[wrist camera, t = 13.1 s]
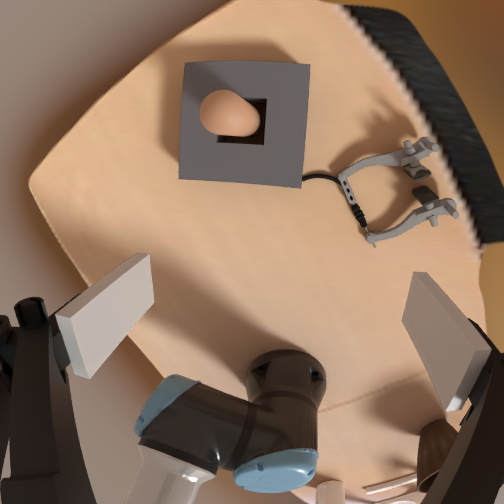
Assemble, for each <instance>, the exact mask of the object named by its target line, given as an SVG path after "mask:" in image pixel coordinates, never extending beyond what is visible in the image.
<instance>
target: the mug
mask: <svg viewBox="0 0 504 504" xmlns="http://www.w3.org/2000/svg"><path fill="white" fill-rule="evenodd" d="M316 504H345V485H344V483H343V482H341V481H336V480H331V481H325V482H322V483H320V484H318V486H317V488H316Z"/></svg>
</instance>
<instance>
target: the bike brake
mask: <svg viewBox="0 0 504 504" xmlns="http://www.w3.org/2000/svg"><path fill="white" fill-rule="evenodd" d="M403 143H404V146H405V149H402V150H398V151H395V152H391V153H387V154H381V155H377V156H372V157H367V158H364V159H362V160H360V161H358V162H356V163H354V164H352V165H351V166H349V167H348V168H346V169H344V170H343V171H342V172H340V173H339V174H338V179H337V178H335V177H332V176H329V175H325V174H312V175H308V176H305V177H302V181H305V180H308V179H312V178H325V179H329V180H332V181H334V182H336V183H338V184H339V185H341V186H342V187H343V189H344V191H345V194H346V196H347V198H348V201H349V203H350V204H352V210H353V212H354V215H355V216H356V219H357V220H359V222H360V225H362V227H364V228H365V230H366V232H367V233H366V234H365V239H366V241H367V242H368V243H372V244H373V246H374V248H376V246H375V244H374V242H376V241H380V240H385V239H389V238H393V237H395V236H398V235H400V234H402V233H404V232H405V231H407V230H409V229H411V228H412V227H414V226H416V225H417V224H419V223H421V222H423V221H426V220H428V219H429V221H430V223H431V225H432V226H433V227H434V226H437V225H438V223H437V216H438V215H451V216H452V217H453V218H455V219H456V218H458V217H459V213H458V212H457V211H456V203H455V201H454V200H453V199H450V198H444V199H441V200H439V197H438V196H437V195H436V194H435V193H434V192H432V191H431V190H430V189H429V188H428V187H427V186H425V185H424V186H421V187H418V188H416V189H413V190H412V193H413V195H414V196H415V197H416V198H417V199H418V201H419V202H420V203H421V204H422V205H423V207H420V208H417V209H415V210H413V211H412V212H411V213H410V214H409V215H408V216H407V217H406V218H405V219H404V220H403V221H402V222H401V223H400V224H398V225H397V226H395V227H393V228H391V229H388V230H385V231H380V232H376V233H375V232H372V231H368V230H367V228H366V227H367V223H366V220H365V218H364V216H365V215H364V214H363V212H362V210H360V207H359V205H358V204H355V202H356V199H355V197H354V194H353V192H352V190H351V187H350V185H349V183H348V180H347V177H348V176H350V175H352V174H353V173H355V172H356V171H358V170H360V169H362V168H364V167H368V166H372V165H388V166H399V165H402V166H404V165H407V164H409V163H410V165H409V166H407V167H405V168H404V171H405V172H406V173H407V174H408V175H409V176H410V177H411V178H412V179H413V180H414V181H418V180H421V179H423V178H426V177H428V176H429V175H431V172H430V170H428V169H427V168H425V167H424V166H422V165H421V164H420V162H419V160H420V159H422V158H424V157H427V156H429V153H431V152H432V151H434V152H437V151H438V150H439V146H438V145H437V144H435V142H434V140H433V139H432V138H430V137H421V138H420V139H419V140H418V141H417V142H416V143H415V144H413V145H412V144H411V142H410V140H407V141H405V142H403ZM343 181H346V184H345V183H344V182H343Z"/></svg>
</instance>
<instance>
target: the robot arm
mask: <svg viewBox="0 0 504 504" xmlns="http://www.w3.org/2000/svg"><path fill="white" fill-rule="evenodd" d="M154 303H155V301H154V293H153V284H152V275H151V265H150V254H143V253H136V254H135V255H133V256H132V257H130V258H129V259H127V260H126V261H125V262H123V263H122V264H121V265H119V266H118V267H116V268H115V269H114V270H112V271H111V272H110V273H108V274H107V275H105V276H104V277H103V278H101V279H100V280H99V281H97V282H96V283H95V284H93V285H92V286H91V287H89V288H88V289H87V290H85V291H84V292H83V293H80V294H78V295H76V296H75V297H73V298H72V299H71V300H70V302H67V303H66V304H64V306H62V307H61V308H59V309H58V310H57V311H56V312H54V313H53V314H52V315H50V316H49V317H48V315H47V311H46V308H45V304H44V301H43V299H42V298H40V297H29V298H26V299H23V300H21V301H19V302H18V303H17V304H16V305H15V306H14V310H15V313H16V317H17V319H18V323H19V326H20V327H11V324H10V321H9V318H8V317H7V316H5V315H0V480H1V474H2V468H3V463H4V458H5V454H6V449H7V445H8V441H9V437H10V466H11V476H10V478H3V479H2V480H1V485H0V491H1V501H2V504H97V503H96V500H95V497H94V494H93V491H92V488H91V484H90V481H89V478H88V474H87V470H86V467H85V463H84V459H83V455H82V451H81V447H80V442H79V438H78V433H77V428H76V423H75V418H74V412H73V406H72V400H71V393H70V386H69V378H68V374H67V371H66V367H67V366H68V365H69V363H71V365H72V368H73V371H74V373H75V375H79V376H81V377H84V378H87V379H90V378H91V377H92V376H93V375H94V373H95V372H96V371H97V370H98V368H99V367H100V366H101V365H102V364H103V362H104V361H105V360H106V359H107V358H108V356H109V355H110V354H111V353H112V352H113V350H114V349H115V348H116V347H117V346H118V344H119V343H120V342H121V341H122V340H123V339H124V337H125V336H126V335H127V334H128V333H129V331H130V330H131V329H132V328H133V327H134V326H135V324H136V323H137V322H138V321H139V320H140V319H141V317H142V316H143V315H144V314H145V313H146V312H147V311H148V309H149V308H150V307H151V306H152V305H153V304H154ZM402 322H403V324H404V326H405V328H406V330H407V332H408V334H409V336H410V338H411V340H412V342H413V344H414V346H415V348H416V350H417V352H418V354H419V356H420V358H421V360H422V362H423V364H424V366H425V368H426V370H427V372H428V374H429V377H430V379H431V381H432V383H433V385H434V387H435V390H436V392H437V394H438V396H439V399H440V401H441V403H442V405H443V408H444V410H445V412H447V411H454V410H460V409H462V407H463V406H464V404H465V402H466V400H467V399H468V397H469V399H470V401H471V403H472V405H471V406H470V408H469V410H468V412H467V413H466V415H465V416H464V418H463V420H462V421H461V423H460V424H459V425H461V428H460V431H459V433H458V435H457V437H456V440H455V442H454V444H453V446H452V448H451V450H450V452H449V454H448V456H447V458H446V460H445V462H444V464H443V466H442V468H441V470H440V471H439V473H438V475H437V477H436V479H435V480H434V482H433V484H432V485H431V487H430V489H429V491H428V492H427V494H426V495H425V497H424V499H423V500H422V502H421V503H420V504H494V502H495V499H496V496H497V494H498V491H499V488H500V485H501V482H502V479H503V476H504V353H500V352H499V350H498V349H497V348H496V346H495V345H494V344H493V343H492V341H491V340H490V339H489V338H487V335H486V334H485V333H484V332H483V330H482V329H481V328H480V327H479V325H478V324H476V323H475V322H474V321H472V320H471V319H469V318H466V316H465V315H464V314H463V313H462V312H461V310H460V309H459V308H458V307H457V306H456V305H455V303H454V302H453V301H452V300H451V299H450V298H449V297H448V295H447V294H446V293H445V292H444V291H443V290H442V289H441V288H440V287H439V285H438V284H437V283H436V282H435V281H434V280H433V279H432V278H431V277H430V276H429V275H428V273H427V272H413V275H412V280H411V285H410V289H409V293H408V298H407V302H406V306H405V310H404V314H403V317H402ZM245 386H246V391H247V396H248V401H246V400H244V399H241V398H238V397H235V396H232V395H230V394H227V393H224V392H222V391H219V390H217V389H214V388H212V387H210V386H207V385H205V384H203V383H201V382H200V381H195V380H192V379H189V378H186V377H184V376H181V375H178V374H173V375H170V376H168V377H166V378H165V379H164V380H163V381H162V382H161V383H160V384H159V385H158V387H157V388H156V389H155V391H154V392H153V393H152V395H151V396H150V398H149V399H148V401H147V402H146V404H145V406H144V407H143V409H142V411H141V415H140V416H139V417H138V419H137V421H136V423H135V426H134V431H135V433H136V434H137V436H139V437H141V439H140V442H139V444H138V446H137V447H138V450H139V452H140V455H141V457H142V461H143V462H142V464H141V466H140V469H139V471H138V473H137V475H136V478H135V480H134V482H133V485H132V487H131V489H130V491H129V494H128V496H127V498H126V500H125V503H124V504H193V503H194V500H195V497H196V495H197V491H198V490H199V487H200V484H202V483H203V482H205V481H207V480H210V479H212V478H214V477H215V475H216V473H217V470H218V467H219V468H222V469H225V470H229V471H232V472H233V478H234V482H235V483H236V484H237V485H238V486H241V487H242V488H243V489H246V490H249V491H253V492H261V493H278V492H285V491H290V490H294V489H297V488H299V487H302V486H304V485H305V484H307V483H308V482H309V481H310V480H311V479H312V478H313V477H314V475H315V472H316V465H317V459H318V452H317V449H318V434H317V410H318V408H319V405H320V403H321V401H322V398H323V396H324V394H325V391H326V373H325V370H324V368H323V367H322V365H321V364H320V363H319V362H318V361H317V360H316V359H315V358H313V357H311V356H310V355H308V354H305V353H302V352H299V351H293V350H278V351H273V352H269V353H266V354H264V355H262V356H260V357H258V358H257V359H256V360H255V361H254V362H253V363H252V364H251V365H250V367H249V369H248V372H247V376H246V381H245Z"/></svg>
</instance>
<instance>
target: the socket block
mask: <svg viewBox="0 0 504 504" xmlns="http://www.w3.org/2000/svg"><path fill="white" fill-rule="evenodd" d="M309 80H310V64H299V63H286V62H269V61H206V62H188V63H185V68H184V79H183V93H182V107H181V125H180V148H179V179H186V180H205V181H221V182H235V183H248V184H260V185H271V186H282V187H291V188H301V184H302V173H303V162H304V151H305V138H306V125H307V112H308V97H309ZM218 90H229V91H232V92H234V93H236V94H237V95H239V96H240V97H241V98H243V99H244V100H245V101H247V102H254V103H267V108H266V123H265V137H264V145H262V144H247V143H227V142H226V135H217V134H214V133H211V132H209V131H208V130H207V129H206V128H205V127H204V126H203V125H202V123H201V120H200V116H199V111H200V106H201V104H202V102H203V100H204V99H205V98H206V97H207V96H208V95H209V94H211V93H212V92H215V91H218Z"/></svg>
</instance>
